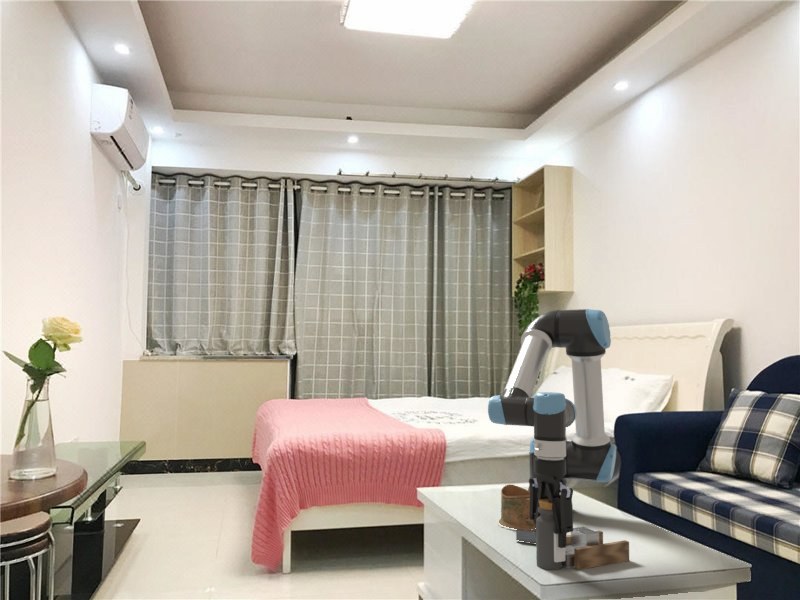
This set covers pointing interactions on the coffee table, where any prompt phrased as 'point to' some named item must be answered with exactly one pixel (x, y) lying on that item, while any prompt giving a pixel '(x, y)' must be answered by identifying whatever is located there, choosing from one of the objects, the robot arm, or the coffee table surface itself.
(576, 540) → the grey stepped block
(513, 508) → the mug
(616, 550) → the parallel wooden rails
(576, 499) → the coffee table surface
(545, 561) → the bottle
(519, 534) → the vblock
